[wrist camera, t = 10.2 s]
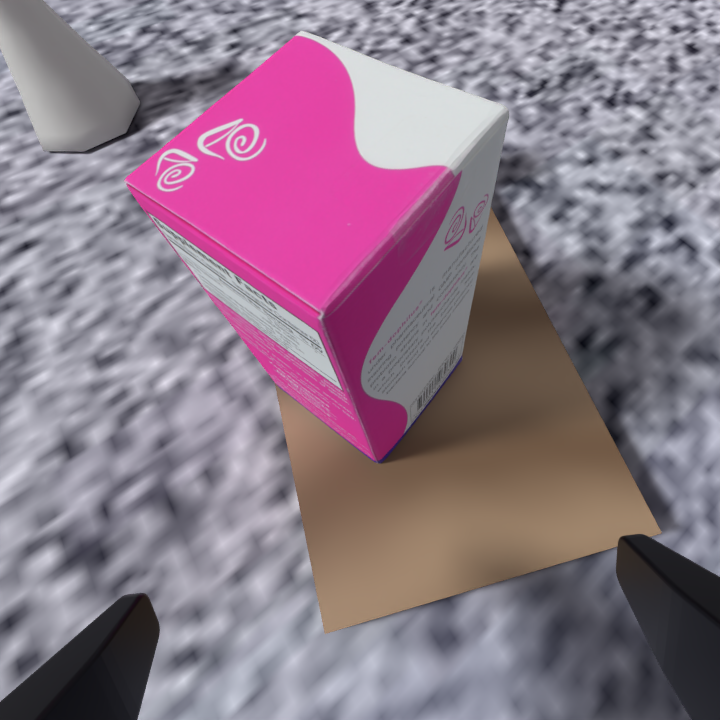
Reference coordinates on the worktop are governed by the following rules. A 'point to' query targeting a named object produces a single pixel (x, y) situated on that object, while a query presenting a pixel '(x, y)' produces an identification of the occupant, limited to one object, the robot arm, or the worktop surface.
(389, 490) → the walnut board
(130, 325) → the worktop surface
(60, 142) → the flask
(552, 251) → the worktop surface
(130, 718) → the robot arm
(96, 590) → the worktop surface
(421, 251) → the supplement box
